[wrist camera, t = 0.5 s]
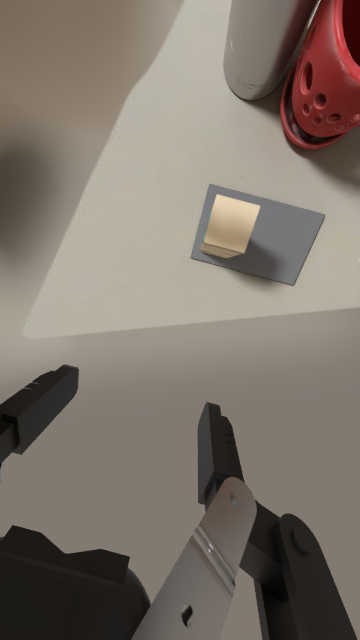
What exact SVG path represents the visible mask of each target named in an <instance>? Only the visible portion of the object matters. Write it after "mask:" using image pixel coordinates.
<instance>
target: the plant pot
mask: <svg viewBox="0 0 360 640" xmlns="http://www.w3.org/2000/svg"><path fill="white" fill-rule="evenodd" d="M280 116H281V122H282V126H283V129H284V132H285V133H286V135H287V136H288V138H289V139H290V141H292V142H293V143H294V144H295V145H297V146H299V147H302V148H305V149H319V148H323V147H326V146H328V145H330V144H332V143H334V142H336V141H337V140H339V139H340V138H342V137H343V136H344V135H345V134H346V133H347V132H348V131H349V130H351V129H353V128H355V127H357V126H359V125H360V0H321V1H320V3H319V6H318V8H317V10H316V13H315V15H314V17H313V20H312V22H311V25H310V27H309V30H308V32H307V35H306V38H305V40H304V43H303V46H302V49H301V52H300V56H299V57H298V59H297V60H296V61H295V63H294V65H293V66H292V68H291V70H290V72H289V74H288V76H287V79H286V82H285V84H284V88H283V91H282V96H281V103H280Z"/></svg>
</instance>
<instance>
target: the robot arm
mask: <svg viewBox="0 0 360 640" xmlns="http://www.w3.org/2000/svg"><path fill="white" fill-rule="evenodd" d="M318 2H319V0H232V3H231V10H230V17H229V24H228V31H227V38H226V45H225V52H224V72H225V77H226V80H227V82H228V85H229V87H230V88H231V89H232V91H233V92H234V93H235V94H236V95H238V96H239V97H241V98H243V99H247V100H255V99H260V98H262V97H264V96H266V95H267V94H269V93H270V92H272V91H273V90H274V89H275V88H276V87H277V86H278V84H279V83H280V81H281V80H282V78H283V76H284V74H285V72H286V70H287V68H288V66H289V64H290V62H291V60H292V57H293V55H294V53H295V51H296V49H297V47H298V45H299V43H300V41H301V39H302V36H303V34H304V32H305V30H306V28H307V26H308V24H309V21H310V19H311V17H312V15H313V13H314V11H315V9H316V6H317V4H318ZM78 374H79V369H78V368H77V367H73V366H69V365H62V366H61V367H60V368H59V369H57V370H56V371H50V372H47V373H45V374H43V375H41V376H39V377H38V378H36V379H35V380H34V381H32V383H30V384H28V385H27V386H25V388H24V389H21V390H20V391H18V392H17V393H16V394H14V395H13V396H12V397H10V398H9V399H7V400H6V401H5V402H3V403H2V404H1V405H0V481H1V477H2V473H3V469H4V465H5V459H6V458H7V457H8V456H9V455H10V454H11V453H12V452H13V453H17V454H21V455H22V454H23V452H24V451H25V450H26V449H27V448H28V447H29V446H30V445H31V444H32V442H33V441H34V440H35V439H36V438H37V437H38V436H39V435H40V434H41V433H42V432H43V430H44V429H45V428H46V427H47V426H48V425H49V424H50V423H51V422H52V420H53V419H54V418H55V417H56V416H57V415H58V414H59V413H60V412H61V411H62V410H63V408H64V407H65V406H66V405H67V404H68V403H69V402H70V400H72V398H73V397H74V396H75V394H76V392H77V389H78ZM198 503H200V504H204V505H205V511H206V513H205V515H204V516H203V518H202V520H201V521H200V523H199V525H198V527H197V528H196V529H195V531H194V533H193V534H192V536H191V538H190V539H189V541H188V543H187V544H186V546H185V548H184V550H183V551H182V553H181V555H180V556H179V558H178V560H177V562H176V563H175V565H174V567H173V569H172V570H171V572H170V574H169V575H168V577H167V579H166V581H165V582H164V584H163V586H162V587H161V589H160V591H159V593H158V594H157V596H156V598H155V599H154V601H153V603H152V605H151V603H150V600H149V598H148V595H147V593H146V591H145V589H144V587H143V585H142V583H141V582H140V580H139V579H138V577H137V576H136V575H135V574H134V573H133V572H132V571H131V570H130V569H129V568H128V563H129V559H130V557H129V556H125V555H121V554H117V553H113V552H110V551H107V550H103V549H98V550H91V551H84V552H77V553H71V554H66V553H63V552H62V551H61V550H60V549H59V548H58V547H57V546H55V545H54V544H53V543H52V542H51V541H50V540H49V539H47V538H46V537H45V536H44V535H43V534H42V533H40V532H36V531H33V530H29V529H25V528H22V527H18V526H14V525H12V527H11V528H10V530H9V531H8V532H7V534H6V535H5V537H0V640H219V637H220V635H221V631H222V628H223V625H224V622H225V619H226V616H227V613H228V610H229V607H230V604H231V601H232V597H233V594H234V590H235V583H234V581H235V576H236V573H237V570H238V567H240V568H241V569H243V570H244V571H245V572H246V573H248V574H249V575H250V576H251V577H252V578H253V579H254V585H255V592H256V598H257V606H258V612H259V619H260V625H261V632H262V639H263V640H357V637H356V635H355V632H354V630H353V627H352V625H351V622H350V620H349V617H348V615H347V612H346V610H345V607H344V605H343V602H342V600H341V598H340V595H339V593H338V590H337V587H336V585H335V583H334V580H333V578H332V575H331V573H330V570H329V568H328V565H327V563H326V560H325V558H324V555H323V553H322V550H321V548H320V545H319V543H318V542H317V539H316V538H315V536H314V535H313V533H312V532H311V530H310V529H309V528H308V527H307V525H306V524H305V523H304V522H303V521H302V520H300V519H299V518H298V517H296V516H294V515H292V514H284V515H283V516H282V517H281V518H280V517H278V516H277V515H275V514H274V513H272V512H271V511H269V510H268V509H266V508H265V507H263V506H262V505H261V504H259V503H258V502H257V501H256V500H255V499H254V496H253V494H252V492H251V491H250V489H249V488H248V486H247V485H246V484H245V482H244V479H243V474H242V470H241V466H240V461H239V456H238V451H237V447H236V442H235V438H234V434H233V429H232V425H231V424H230V422H229V420H228V418H227V417H224V416H221V411H220V406H219V405H216V404H213V403H209V402H206V404H205V407H204V409H203V412H202V415H201V418H200V420H199V424H198Z"/></svg>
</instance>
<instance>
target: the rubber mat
mask: <svg viewBox="0 0 360 640" xmlns="http://www.w3.org/2000/svg"><path fill="white" fill-rule="evenodd" d="M217 194H218V195H222V196H225V197H229V198H233V199H237V200H240V201H244V202H248V203H252V204H256V205H259V206H260V209H259V212H258V215H257V218H256V221H255V224H254V227H253V230H252V232H251V235H250V238H249V241H248V244H247V247H246V250H245V253H243V254H240V255H236V256H233V257H229V258H223V257H219V256H216V255H212V254H208V253H204V252H201V247H202V241H203V237H204V234H205V230H206V226H207V222H208V219H209V215H210V212H211V210H212V208H213V205H214V202H215V198H216V195H217ZM324 216H325V214H321V213H318V212H314V211H310V210H306V209H303V208H299V207H295V206H291V205H287V204H284V203H280V202H276V201H272V200H269V199H265V198H261V197H257V196H254V195H250V194H246V193H242V192H239V191H235V190H231V189H227V188H224V187H220V186H216V185H212V184H209V188H208V191H207V195H206V199H205V203H204V207H203V211H202V215H201V219H200V223H199V226H198V230H197V234H196V238H195V242H194V246H193V250H192V254H191V258H193V259H197V260H200V261H204V262H208V263H212V264H215V265H219V266H223V267H227V268H230V269H234V270H238V271H242V272H245V273H249V274H253V275H257V276H260V277H264V278H268V279H271V280H275V281H279V282H283V283H286V284H290V285H294V283H295V280H296V278H297V276H298V274H299V271H300V269H301V267H302V265H303V263H304V260H305V258H306V256H307V254H308V252H309V249H310V247H311V245H312V243H313V241H314V238H315V236H316V234H317V232H318V230H319V227H320V225H321V223H322V221H323V218H324Z"/></svg>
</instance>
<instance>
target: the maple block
mask: <svg viewBox="0 0 360 640" xmlns="http://www.w3.org/2000/svg"><path fill="white" fill-rule="evenodd" d="M259 209H260V206H259V205H256V204H252V203H248V202H244V201H240V200H237V199H233V198H229V197H225V196H222V195H218V194H217V195H216V198H215V202H214V205H213V208H212V210H211V212H210V215H209V219H208V222H207V226H206V230H205V234H204V237H203V241H202V247H201V252H204V253H208V254H212V255H216V256H219V257H223V258H229V257H233V256H236V255H240V254H243V253H245V250H246V247H247V244H248V241H249V238H250V235H251V232H252V230H253V227H254V224H255V221H256V218H257V215H258V212H259Z"/></svg>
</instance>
